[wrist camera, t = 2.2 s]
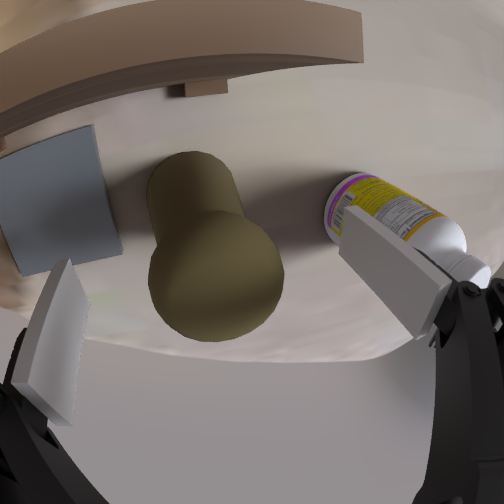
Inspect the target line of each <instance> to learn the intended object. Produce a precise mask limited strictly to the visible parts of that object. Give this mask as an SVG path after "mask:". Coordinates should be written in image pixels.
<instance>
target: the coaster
mask: <svg viewBox="0 0 504 504" xmlns="http://www.w3.org/2000/svg"><path fill="white" fill-rule="evenodd" d="M0 225H1V228H2V231H3V233H4V236H5V238H6V241H7V243H8V245H9V248H10V250H11V252H12V255H13V257H14V259H15V261H16V263H17V265H18V268H19V270H20V272H21V274H22V276H23V277H24V276H29V275H33V274H37V273H41V272H46V271H50V270H52V269H53V267H54V264H55V262H56V261H59V260H63V259H68V258H70V260H71V263H72V265H76V264H81V263H85V262H89V261H94V260H99V259H103V258H108V257H112V256H117V255H122V254H123V248H122V245H121V241H120V238H119V235H118V231H117V228H116V224H115V221H114V217H113V214H112V210H111V206H110V202H109V198H108V194H107V190H106V186H105V182H104V177H103V173H102V168H101V163H100V158H99V153H98V148H97V143H96V137H95V131H94V125H90V126H87V127H83V128H80V129H77V130H74V131H70V132H67V133H64V134H61V135H58V136H55V137H53V138H50V139H47V140H44V141H42V142H39V143H36V144H34V145H31V146H29V147H26V148H24V149H22V150H19V151H17V152H15V153H12V154H10V155H8V156H6V157H3V158H1V159H0Z"/></svg>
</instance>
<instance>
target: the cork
mask: <svg viewBox="0 0 504 504" xmlns="http://www.w3.org/2000/svg"><path fill="white" fill-rule="evenodd" d="M146 198H147V205H148V211H149V215H150V219H151V223H152V227H153V231H154V235H155V238H156V242H157V247H156V249H155V251H154V253H153V255H152V256H151V262H150V268H149V274H148V286H149V290H150V294H151V298H152V302H153V304H154V307H155V309H156V311H157V312H158V314H159V315H160V316H161V318H162V319H163V320H164V322H165V323H166V324H167V325H169V326H170V327H171V328H172V329H174V330H175V331H177V332H178V333H180V334H181V335H183V336H184V337H187V338H190V339H194V340H197V341H202V342H220V341H226V340H231V339H235V338H238V337H240V336H242V335H245V334H247V333H250V332H251V331H253V330H254V329H255V328H257V327H258V326H260V325H261V324H263V323H264V322H265V321H266V319H267V318H268V317H269V316H270V315H271V314H272V313H273V312H274V310H275V308H276V306H277V304H278V302H279V300H280V297H281V294H282V290H283V282H284V269H283V265H282V261H281V258H280V254H279V251H278V248H277V246H276V245H275V244H274V242H273V241H272V240H271V239H270V237H269V236H268V235H267V234H266V232H265V231H264V230H263V229H262V227H260V226H259V225H257V224H255V223H254V222H252V221H250V220H248V219H247V218H246V216H245V213H244V210H243V207H242V204H241V201H240V198H239V195H238V192H237V189H236V186H235V183H234V180H233V177H232V174H231V172H230V170H229V169H228V168H227V167H226V165H225V164H224V163H223V162H222V161H221V160H219V159H217V158H216V157H214V156H213V155H211V154H207V153H203V152H199V151H191V152H181V153H179V154H176V155H174V156H172V157H169V158H167V159H166V160H165V161H164V162H163V163H162V164H160V165H159V166H158V167H157V168H156V169H155V171H154V173H153V175H152V176H151V178H150V180H149V182H148V187H147V192H146Z"/></svg>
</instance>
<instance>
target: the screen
mask: <svg viewBox="0 0 504 504" xmlns="http://www.w3.org/2000/svg"><path fill="white" fill-rule="evenodd" d="M345 63H364V56H363V32H362V17H361V13H360V12H357V11H353V10H349V9H345V8H341V7H336V6H331V5H327V4H321V3H316V2H310V1H304V0H155V1H149V2H143V3H138V4H133V5H128V6H123V7H119V8H115V9H111V10H107V11H103V12H100V13H96V14H93V15H89V16H86V17H83V18H80V19H77V20H74V21H71V22H68V23H65V24H63V25H60V26H58V27H55V28H52V29H50V30H48V31H45V32H43V33H41V34H38V35H36V36H34V37H32V38H29V39H27V40H25V41H23V42H21V43H19V44H17V45H15V46H13V47H11V48H10V49H8V50H6V51H4V52H2V53H0V152H1V151H3V150H5V149H6V144H5V139H4V136H6V135H8V134H10V133H12V132H14V131H16V130H19V129H21V128H23V127H26V126H28V125H30V124H33V123H35V122H38V121H40V120H43V119H45V118H48V117H51V116H53V115H56V114H59V113H62V112H65V111H67V110H70V109H74V108H77V107H80V106H83V105H86V104H90V103H93V102H97V101H100V100H104V99H108V98H112V97H116V96H120V95H124V94H128V93H133V92H138V91H143V90H148V89H153V88H159V87H164V86H171V85H177V84H184V95H185V98H187V97H194V96H202V95H211V94H222V93H228V86H227V79H231V78H235V77H240V76H245V75H250V74H255V73H261V72H267V71H273V70H280V69H287V68H295V67H304V66H314V65H327V64H345Z"/></svg>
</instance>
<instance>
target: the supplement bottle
mask: <svg viewBox="0 0 504 504" xmlns="http://www.w3.org/2000/svg"><path fill="white" fill-rule="evenodd" d="M355 205H357V206H358V207H360V208H361V209H363V210H364V211H365V212H367V213H368V214H369V215H371V216H372V217H374V218H375V219H376V220H378V221H379V222H380V223H382V224H383V225H384V226H386V227H387V228H388V229H390V230H391V231H392V232H394V233H395V234H396V235H398V236H399V237H400V238H401V239H403V240H404V241H405V242H407V243H408V244H409V245H410V246H412V247H414V248H416V249H418V250H420V251H422V252H423V253H425V254H426V255H427V256H428V257H430V259H432V260H433V261H434V262H436V264H438V265H439V266H440V267H442V268H443V269H444V270H445V271H446V272H447V273H449V274H450V275H451V276H452V277H453V278H454V279H455V280H457V281H458V282H460V281H463V280H464V281H470V282H473V283H475V284H476V285H478V286H479V287H480V288H481V289H483V288H487V285H488V283H489V279H490V274H491V273H490V268H489V267H488V266H487V265H486V264H485V263H484V262H482V261H481V260H480V259H479V258H478V257H477V256H472V255H468V254H466V240H465V236H464V233H463V231H462V229H461V228H460V227H459V225H458V224H457V223H455V222H454V221H453V220H451V219H450V218H448V217H447V216H445V215H443V214H442V213H440V212H438V211H437V210H435V209H433V208H432V207H430V206H428V205H427V204H425V203H423V202H422V201H420V200H419V199H417V198H415V197H413V196H412V195H410V194H408V193H406V192H404V191H403V190H401V189H399V188H397V187H396V186H394V185H392V184H390V183H388V182H386V181H384V180H382V179H380V178H378V177H376V176H374V175H371V174H367V173H359V174H354V175H351V176H349V177H348V178H346V179H345V180H343V181H342V182H341V183H339V184H338V185H337V186H336V188H335V189H334V190H333V191H332V193H331V195H330V196H329V198H328V201H327V203H326V206H325V211H324V225H325V229H326V231H327V233H328V235H329V237H330V238H331V239H332V240H333V241H334V242H335V243H336V244H337V245H338V246H339V247H340V240H341V232H342V223H343V213H344V207H348V206H355Z"/></svg>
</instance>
